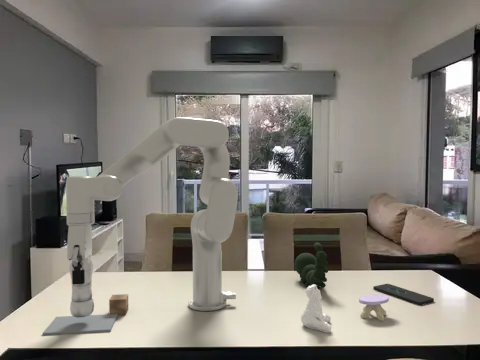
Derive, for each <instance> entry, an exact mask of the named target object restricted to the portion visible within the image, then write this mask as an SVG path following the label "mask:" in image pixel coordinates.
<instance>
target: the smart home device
mask: <svg viewBox="0 0 480 360" xmlns="http://www.w3.org/2000/svg"><path fill="white" fill-rule="evenodd" d="M372 289H373V290H374V291H375V292H378V293H380V294H383V295H386V296H389V297H393V298H396V299H398V300H402V301H404V302H407V303H410V304H413V305H416V306H423V304H424V305H427V304H432V303H434V301H435V299H434V297H431V296H428V295H425V294H422V293H419V292H416V291H412V290H409V289H407V288H403V287H399V286H397V285H394V284H391V283H383V284H378V285H375V286H374V285H373V288H372Z"/></svg>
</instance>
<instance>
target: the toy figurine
mask: <svg viewBox="0 0 480 360" xmlns="http://www.w3.org/2000/svg"><path fill="white" fill-rule="evenodd" d="M313 247H314V249H315V250H316V254H315V255H313V254H312V253H309V252H303V253H300V254H299V255H298V256H296V258H295V260H294V268H295V271H296V273H297V274H298V275H299V278H300V282H301V283H303V284H305V285H304V286H305V287H306V288H307V287H308V286H311V285H312V284H314V285H315V284H316V285H317V287H319V288H321V289H323V288H326V286H327V284H326V282H327V281H328V278H327V277H326V274H327V273H329V270H328V268H327V267H326V266H327V265H329V262H328V261H327V258H328V254H326V252H325V251H323V245H322V244H321V243H320V242H315V243H313Z"/></svg>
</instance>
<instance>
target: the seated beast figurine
mask: <svg viewBox="0 0 480 360" xmlns="http://www.w3.org/2000/svg"><path fill="white" fill-rule="evenodd" d="M305 294H306V297H307V298H308V301H307V303H306V307H305V309H303V311H302V313H301V316H300V318H301V319H300V321H301V323H302V325H304V326H305V327H306V328H307V329H309V330H315V331H320V332H323V333H327V334H328V333H331V332H332V325H331V324H330V323H331V319H332V317H331V315H329V314H327V313H324V312H323V306H322V304H321V300H322V298H323V297H322V293H321V290H320V289H318V286H317V285H316V284H315V285H314V284H312V285H311V286H308V287H306V289H305Z"/></svg>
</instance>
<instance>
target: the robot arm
mask: <svg viewBox="0 0 480 360" xmlns="http://www.w3.org/2000/svg"><path fill="white" fill-rule="evenodd" d="M229 136H230V133H229V128H228V126H227V125H226V124H225V123H223V122H222V121H219V120H216V119H215V120H213V119H205V118H193V117H184V116H183V117H181V116H177V117H176V116H175V117H173V118H171V119H168V120H166V121H164V122H163V123H161V125H159V126H158V127H157V128H156V129H154V130H153V131H152V132H150V134H148V135H147V136H146V137H145V138H143V139H142V140H140V141H139V142H138V143H137V144H136V145H135V146H133V147H132V148H131V149H130V150H128V151H127V152H126V153H125V154H124V155H123V156H122V157H120V158H118V160H116V161H115V162H113V163H112V164H111V165H110V166H108V167H107V168H106V169H105V170H104V171H103V172H101V173H100V174H99V175H97V176H89V175H74V176H73V175H72V176H71V175H70V176H69V177H67V178H66V181H65V195H66V197H65V199H66V204H65V205H66V207H65V208H66V226H68V232H67V245H66V246H67V249H66V251H67V253H66V254H67V255H66V258H67V260H68V261H71V262H72V282H71V285H72V284H84V283H85V270H83V266H84V260H85V259H86V258H87V257H89V258H90V259H91V254H92V252H93V231H92V230H93V229H92V228H93V227H92V225H94V224H95V221H96V220H95V217H96V216H95V201H104V202H112V201H115V200H117V199H119V198H120V197H121V195H122V194H123V190H124V186H126V184H128V183H129V182H130V181H132V180H133V179H134V178H136V177H137V176H139V175H142V174H144V173H146V172H148V171H151V170H152V169H153V168H155V167H156V166H157V165H158V164H159V163H161V161H163V160H164V159H165V158H166V157H168V156H169V155H170V154H171V153H172V152H174V151H175V150H176V149H177V148H178V147H179V146H186V147H197V148H199V150H200V152H201V153H202V155H203V170H202V176H201V180H200V181H201V182H200V186H199V198H200V200H201V202H202V203H203V204H205V205H207V207H206V209H201V210H198V211H197V212H195V214H194V215H193V216H192V218H191V220H190V235H191V242H192V298H191V299H189V300H188V304H187V306H188V307H189V308H190V309H192V310H193V311H200V312H201V311H202V312H210V311H211V312H212V311H218V310H221V309H223V308H225V307H226V306H227V300H236V299H237V294H236V293H237V292H236V293H235V292H233V293H232V292H231V291H227V292H225V291H224V289H223V282H222V280H223V279H222V277H223V276H222V273H223V270H222V269H223V268H222V266H223V264H222V263H223V262H222V261H223V260H222V257H223V252H222V250H223V249H222V243H224V242H225V241H226V240H228V239H229V238H230V236H231V235H232V232H233V228H234V223H235V219H236V218H235V217H236V212H237V208H238V207H237V206H238V200H239V197H238V196H239V195H238V194H239V193H238V189H237V185H235V183H234V182H233V181H232V180H231V179H229V172H230V166H231V163H230V161H231V159H230V158H231V157H230V153H229V151H228V147H227V146H226V143H227V142H228V141H229ZM78 257H82V259H78ZM80 262H81V265H80Z"/></svg>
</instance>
